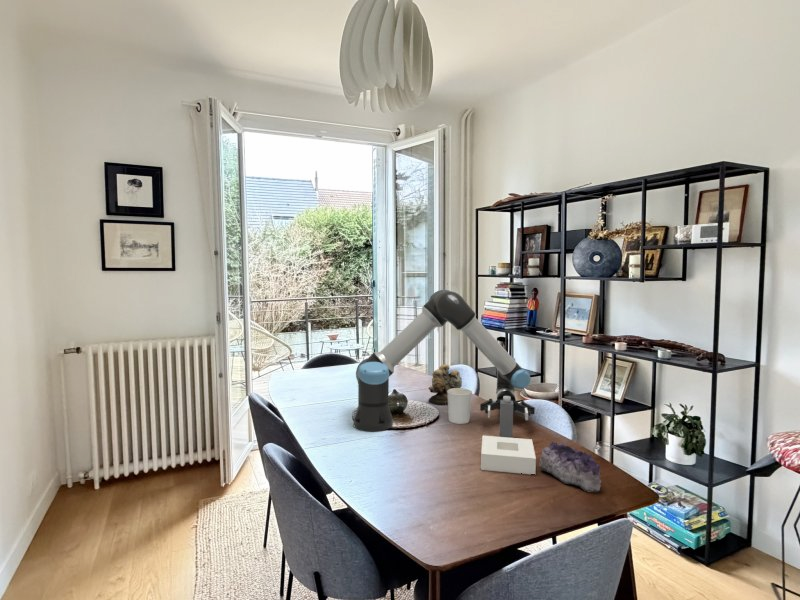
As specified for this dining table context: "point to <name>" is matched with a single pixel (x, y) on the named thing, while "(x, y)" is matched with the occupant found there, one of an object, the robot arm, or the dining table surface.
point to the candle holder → (459, 405)
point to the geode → (571, 466)
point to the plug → (506, 417)
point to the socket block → (508, 455)
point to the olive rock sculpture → (443, 384)
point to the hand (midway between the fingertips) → (507, 415)
